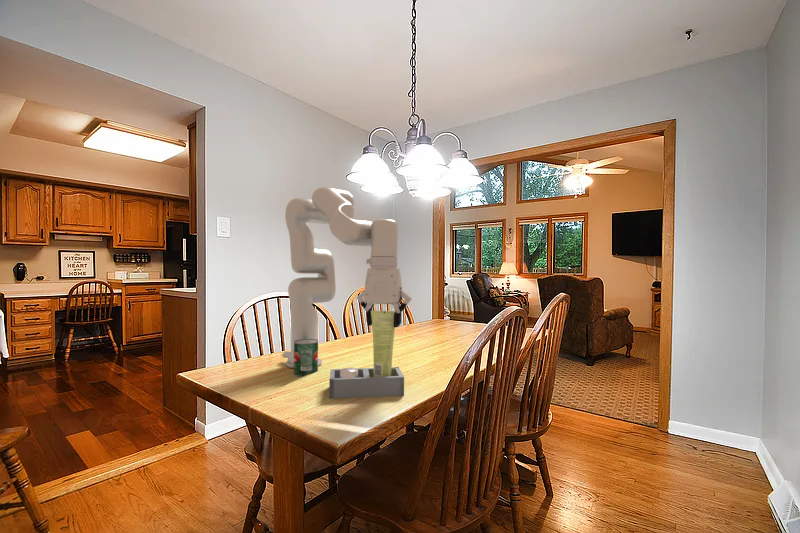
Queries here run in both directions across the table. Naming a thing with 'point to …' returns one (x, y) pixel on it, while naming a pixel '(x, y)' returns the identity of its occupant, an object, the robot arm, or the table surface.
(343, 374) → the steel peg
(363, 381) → the rack
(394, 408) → the table surface
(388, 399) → the table surface
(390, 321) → the tube
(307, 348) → the canned tomato
